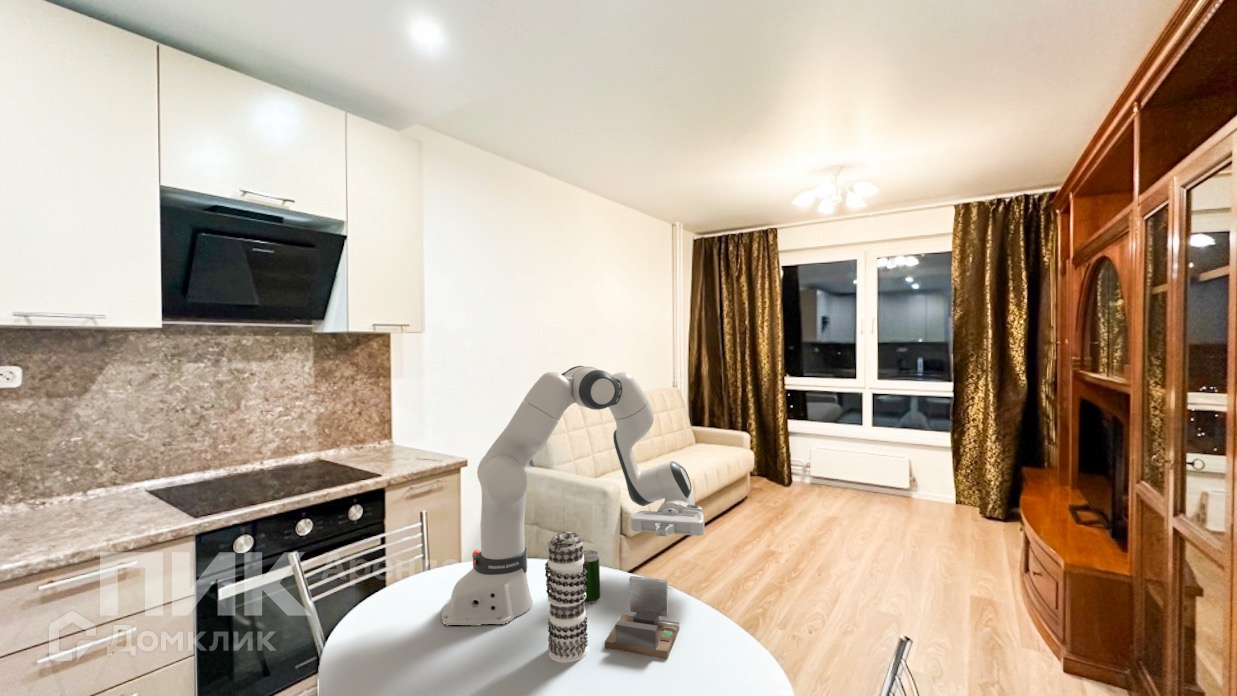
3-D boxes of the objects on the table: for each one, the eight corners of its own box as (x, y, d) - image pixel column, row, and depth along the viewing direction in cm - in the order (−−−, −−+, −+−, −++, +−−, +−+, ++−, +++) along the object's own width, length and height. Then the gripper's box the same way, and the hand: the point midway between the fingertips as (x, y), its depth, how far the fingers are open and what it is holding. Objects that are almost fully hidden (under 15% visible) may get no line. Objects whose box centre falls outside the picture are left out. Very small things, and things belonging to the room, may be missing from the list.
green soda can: (586, 606, 131) (585, 559, 131) (576, 598, 136) (575, 553, 136) (604, 600, 134) (603, 554, 134) (593, 592, 138) (592, 548, 139)
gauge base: (622, 620, 124) (621, 597, 124) (679, 629, 119) (678, 605, 119) (605, 648, 112) (604, 622, 112) (667, 658, 108) (666, 632, 108)
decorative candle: (561, 636, 118) (558, 526, 118) (596, 644, 114) (593, 531, 114) (538, 657, 109) (535, 540, 110) (576, 668, 106) (573, 546, 106)
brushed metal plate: (631, 614, 123) (630, 576, 123) (681, 621, 119) (680, 581, 119) (625, 625, 118) (624, 585, 118) (676, 633, 114) (675, 591, 114)
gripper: (637, 503, 150) (622, 518, 137) (707, 507, 143) (699, 523, 130) (638, 524, 150) (623, 542, 136) (708, 529, 143) (700, 548, 130)
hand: (661, 533), depth 133 cm, fingers closed
